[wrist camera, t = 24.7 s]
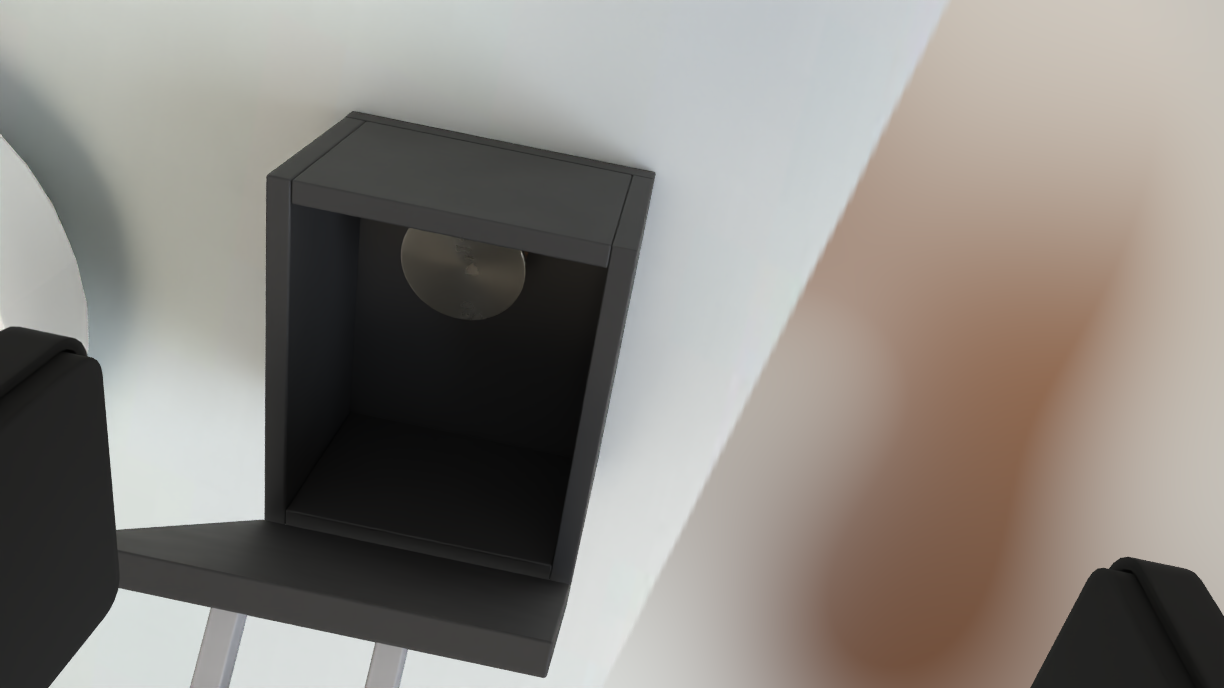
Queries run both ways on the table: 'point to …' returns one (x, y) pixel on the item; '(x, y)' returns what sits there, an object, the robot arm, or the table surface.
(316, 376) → the black open box
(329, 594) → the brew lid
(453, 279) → the coffee pod
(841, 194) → the table surface
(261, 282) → the table surface
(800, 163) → the table surface
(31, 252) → the bowl
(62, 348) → the robot arm
